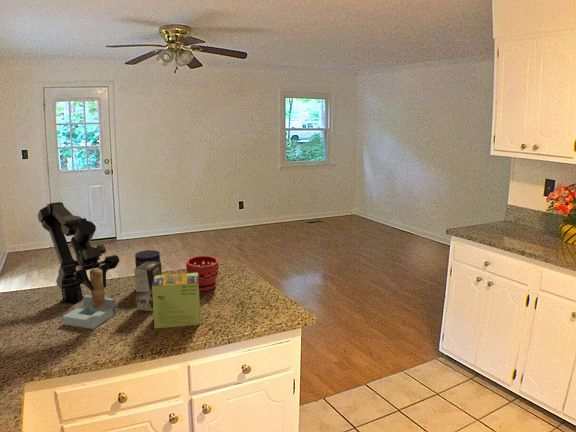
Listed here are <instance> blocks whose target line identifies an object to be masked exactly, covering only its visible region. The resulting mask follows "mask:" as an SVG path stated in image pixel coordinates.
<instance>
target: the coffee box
mask: <svg viewBox="0 0 576 432" xmlns="http://www.w3.org/2000/svg"><path fill="white" fill-rule="evenodd" d="M157 275H163V272H162V262H161V261H160V262H147V261H146V262H145V263H143V264H142V265H140V266H138V267H137V268H136V267H134V280H135V281H134V282H135V297H136V299H135V300H136V310H139V311H149V312H152V311H153V296H152V284H153V281H154V276H157Z"/></svg>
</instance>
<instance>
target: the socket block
mask: <svg viewBox="0 0 576 432" xmlns="http://www.w3.org/2000/svg"><path fill="white" fill-rule="evenodd" d="M82 296H83V299H82V300H83V304H81V305H80V306H79V307H76V308H75V309H73V310H71V311H69V312H68V313H66V314H64V315H63V316H62V322H63V325H65V326H71V327H77V328H78V327H79V328H85V329H91V330H94V329H95V328H97V327H99V326H100V325H102V324H103V323H104V322H106V321H108V320H109V319H110V318H113V317H114V316H115V315H116V314H117V312H116V303H115V301H116V300H115V298H114V297H113V298H112V297H107V296H104V297H105V307H104V308H101V309H93V306H92V295H91V294H90V295H89V294H85V295H82Z"/></svg>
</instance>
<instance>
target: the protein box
mask: <svg viewBox="0 0 576 432" xmlns="http://www.w3.org/2000/svg"><path fill="white" fill-rule="evenodd" d="M152 296H153V326H154V327H153V328H154V329H163V328H166V329H167V328H178V327H188V326H189V327H191V326H199V325H201V305H200V291H199V280H198V273H187V272H186V273H171V274H162V275H157V276H154V281H153V284H152Z"/></svg>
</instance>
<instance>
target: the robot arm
mask: <svg viewBox="0 0 576 432" xmlns="http://www.w3.org/2000/svg"><path fill="white" fill-rule="evenodd" d="M37 219H38V221H39V223H41V226H42V228H43V229H44V230H46V231H47V232H49V235H50V237H51V241H52V243H53V246H54V249H55V253H56V255H57V258H58V261H59V265H60V266H59V269H58V275H57V278H56V281H55V282H56V286H57V288H59V289H61V295H62V299H59V302H60V303H66V304H76V303H77V302H79V301H81V300H83V296H84V295H83V289H82V287H81V286H82V284H83V286H85V287H86V288H87V289H89V291H90V292H91V291H93V287H92V284H91V282H90V277H88V274H87V271H91V270H93V269H101V270H102V273H103V285H104V289H105V288H106V287H107V272H108V270H113V269H116V268H117V267H118V266H119V265H118V264H119V263H120V261H121V260H120V257H119V256H118V255H116V254H112V255H108V256H105V258H104V259H103V260H102V261H100V258H101V257H102V255H104V254H105V253H107V249H106V247H105V245H104V243H102V244H98V245H97V246H96V247H94V246H92V243H91V241H92V240H93V237H94V235H95V233H96V230H97V227H96V225H95V224H94V223H93V222H92V221H89V220H87V218H83V217H81V216H79V215H74V214H72V212H71V211H69V209H67V208H66V206H65V205H64V203H63V202H61V201H57V202H50V203H47V205H46V206H44V207H42V208H41V209H39V211H38V213H37ZM66 237H71V239H70V247H72V249H73V252H74V253H75V259H74V258H73V255H72V253H71V250H70V247H69V244H68V241H67V238H66Z"/></svg>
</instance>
